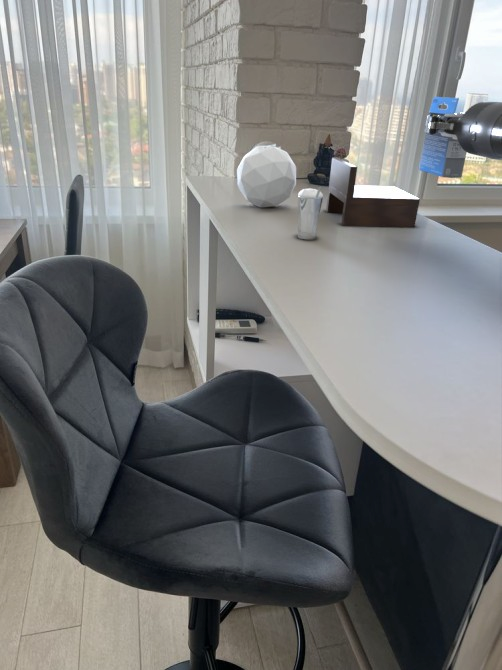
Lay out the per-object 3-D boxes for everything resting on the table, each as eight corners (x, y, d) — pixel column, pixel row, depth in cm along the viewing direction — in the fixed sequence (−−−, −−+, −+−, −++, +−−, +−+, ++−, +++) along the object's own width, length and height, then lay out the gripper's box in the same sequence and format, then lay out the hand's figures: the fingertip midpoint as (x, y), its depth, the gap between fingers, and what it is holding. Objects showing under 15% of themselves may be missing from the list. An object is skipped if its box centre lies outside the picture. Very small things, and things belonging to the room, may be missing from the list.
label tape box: (462, 178, 86) (481, 99, 81) (440, 177, 85) (458, 97, 80) (436, 170, 94) (452, 97, 88) (416, 170, 93) (431, 96, 88)
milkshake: (303, 242, 94) (308, 187, 89) (290, 235, 98) (295, 182, 93) (324, 241, 95) (331, 186, 91) (311, 233, 100) (316, 181, 95)
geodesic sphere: (260, 171, 130) (246, 124, 118) (311, 178, 124) (302, 129, 112) (236, 215, 124) (219, 170, 112) (289, 224, 119) (277, 178, 106)
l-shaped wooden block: (390, 212, 121) (399, 159, 116) (414, 227, 109) (425, 169, 104) (325, 210, 119) (332, 157, 114) (343, 225, 107) (350, 166, 101)
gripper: (549, 104, 72) (484, 101, 88) (456, 99, 70) (406, 97, 86) (533, 159, 76) (474, 146, 91) (444, 156, 74) (398, 144, 89)
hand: (441, 122), depth 88 cm, fingers open, 4 cm apart
